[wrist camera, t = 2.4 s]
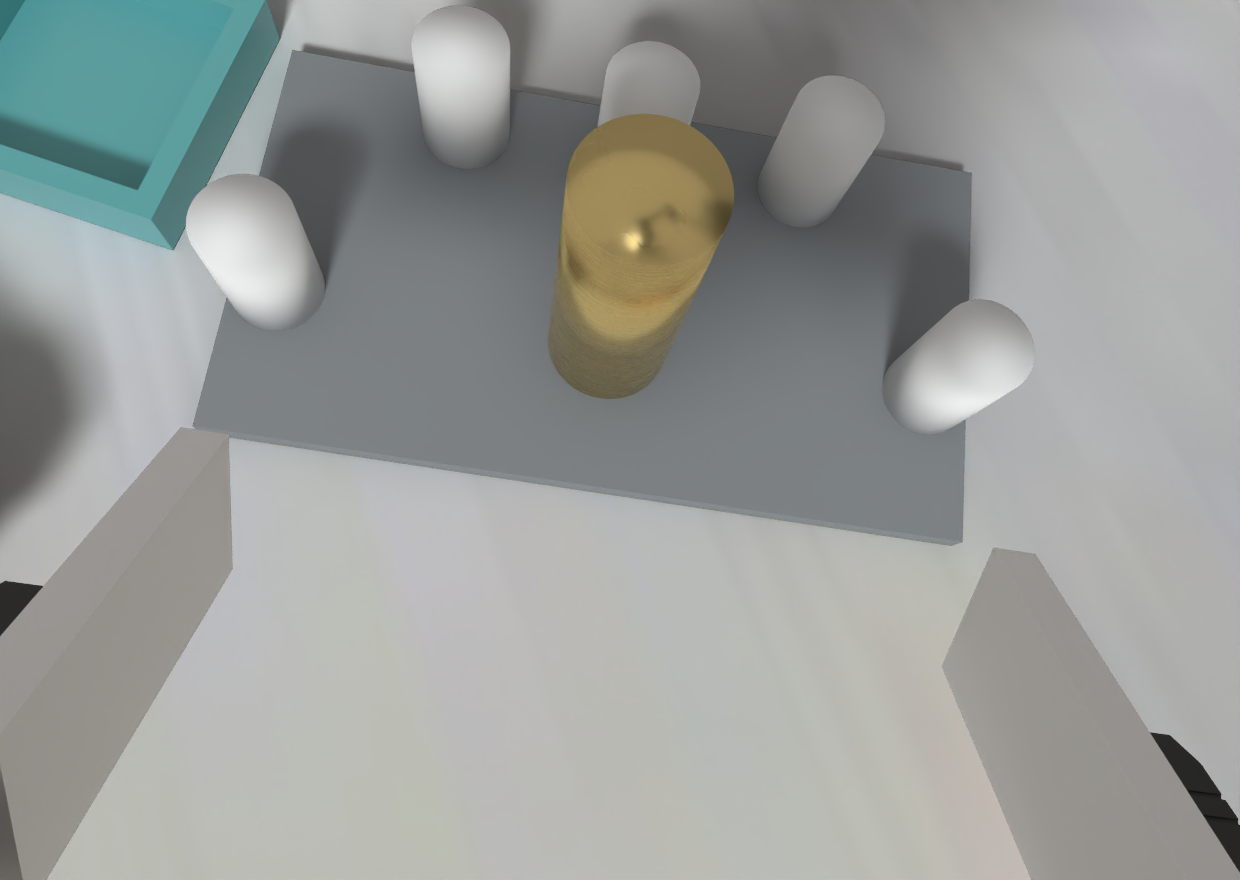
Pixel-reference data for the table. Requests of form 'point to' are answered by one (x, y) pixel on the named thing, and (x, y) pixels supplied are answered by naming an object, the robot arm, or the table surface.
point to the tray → (124, 103)
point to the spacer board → (524, 283)
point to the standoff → (633, 249)
